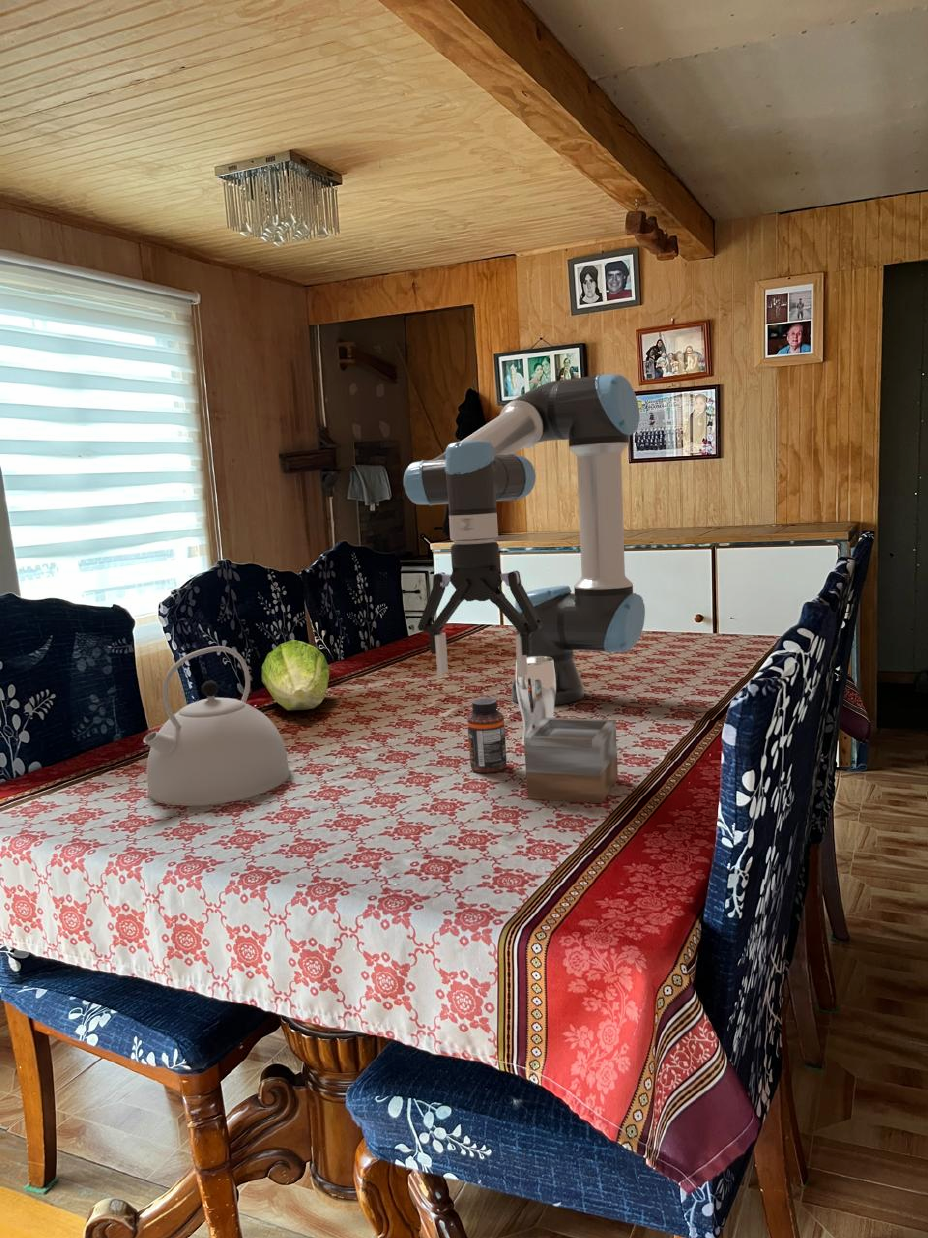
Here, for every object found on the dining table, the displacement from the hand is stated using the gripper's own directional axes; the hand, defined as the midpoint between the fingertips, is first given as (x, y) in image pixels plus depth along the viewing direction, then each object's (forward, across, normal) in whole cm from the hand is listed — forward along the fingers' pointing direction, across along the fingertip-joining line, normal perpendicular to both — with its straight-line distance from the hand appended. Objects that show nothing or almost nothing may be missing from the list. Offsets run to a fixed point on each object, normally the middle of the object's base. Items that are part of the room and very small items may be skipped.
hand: (481, 674), depth 149 cm
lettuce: (+16, -55, +32) cm, 66 cm away
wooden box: (+16, +16, -7) cm, 23 cm away
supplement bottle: (+16, 0, 0) cm, 16 cm away
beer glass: (+16, +4, +15) cm, 22 cm away
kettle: (+16, -42, -15) cm, 48 cm away
